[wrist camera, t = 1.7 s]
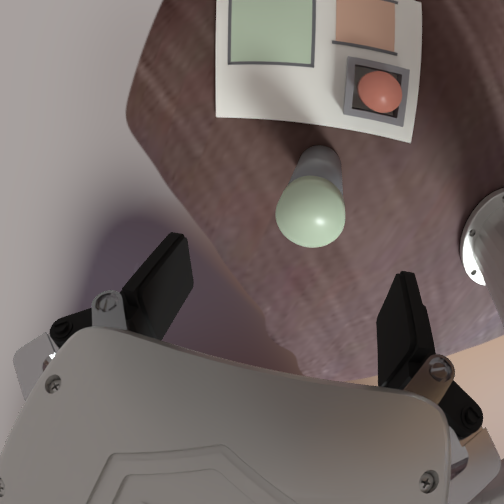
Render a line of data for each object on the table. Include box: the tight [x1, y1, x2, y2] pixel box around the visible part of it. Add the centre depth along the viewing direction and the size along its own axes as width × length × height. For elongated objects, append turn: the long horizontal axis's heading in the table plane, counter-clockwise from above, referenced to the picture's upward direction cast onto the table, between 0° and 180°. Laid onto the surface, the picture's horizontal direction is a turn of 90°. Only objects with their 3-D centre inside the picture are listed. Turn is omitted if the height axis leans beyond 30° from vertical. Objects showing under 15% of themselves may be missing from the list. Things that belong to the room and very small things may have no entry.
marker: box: [276, 145, 345, 247], centre depth 20 cm, size 4×4×11 cm
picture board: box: [216, 0, 422, 143], centre depth 17 cm, size 18×14×2 cm
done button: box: [357, 71, 402, 113], centre depth 17 cm, size 3×3×2 cm
